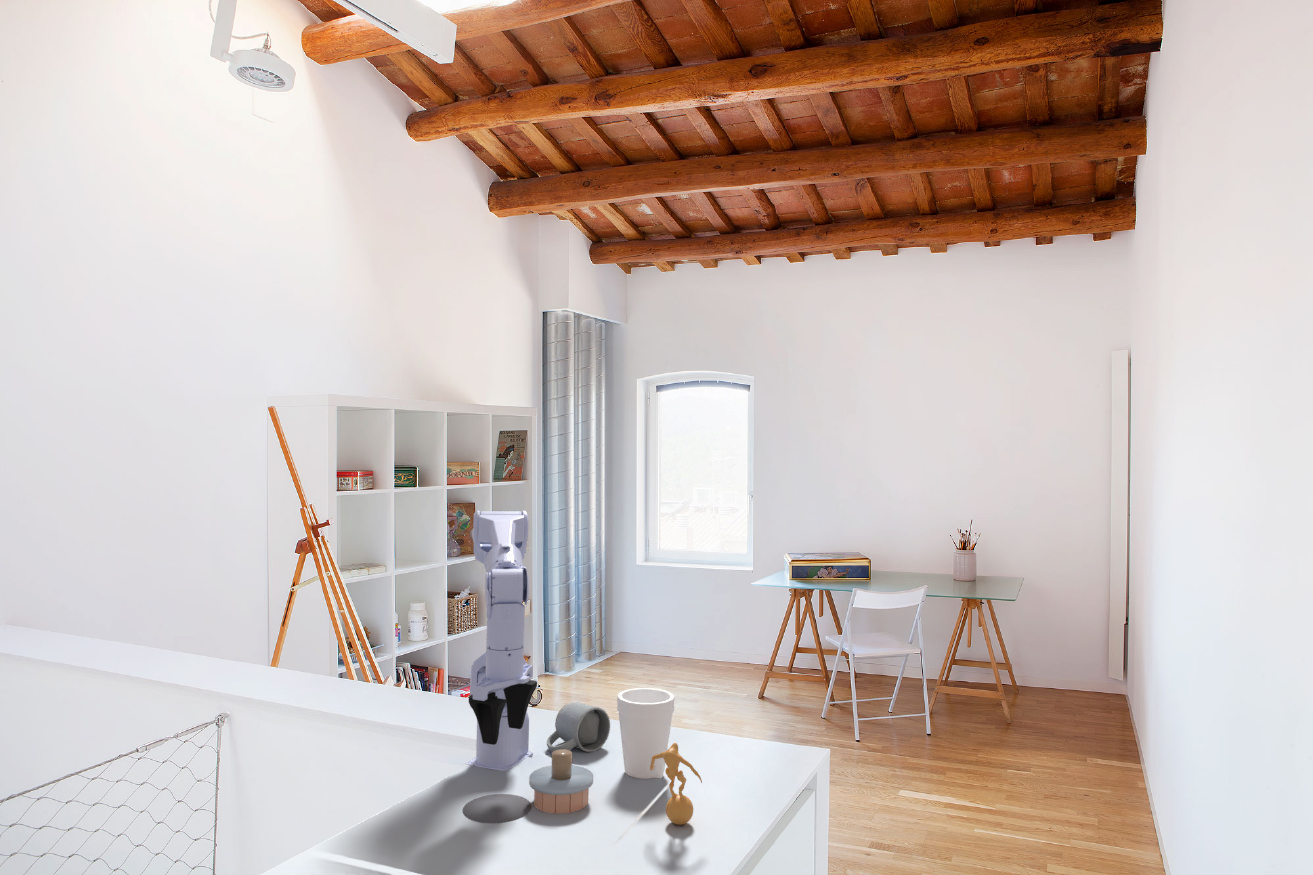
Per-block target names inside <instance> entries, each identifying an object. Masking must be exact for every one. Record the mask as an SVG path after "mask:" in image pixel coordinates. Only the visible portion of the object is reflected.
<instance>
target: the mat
mask: <svg viewBox="0 0 1313 875" xmlns="http://www.w3.org/2000/svg"><path fill="white" fill-rule="evenodd" d="M532 807H533V806H532V803H531V802H530V800H529V799H527V798H525V797H523V796H520V795H516V794H510V793H508V794H507V793H494V794H488V795H487V794H486V795H483V796H479V797H476V798H474V799H472V800H469V801H467V803H465V805H463V807H462V814H463V816H464V817H465V818H467V819H468V820H471V821H473V822H477V823H481V824H501V823H502V824H503V823H509V822H512V821H515V820H519V819H521V818H524V817H525V816H527V815H528V814H529V813H530V812H531V810H532Z"/></svg>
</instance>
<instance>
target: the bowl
mask: <svg viewBox="0 0 1313 875" xmlns="http://www.w3.org/2000/svg"><path fill="white" fill-rule="evenodd" d="M533 790H534V789H533ZM589 795H590V794H589V788H588V789H586V790H584V791H582V792H578V793H574V794H567V795H551V794H544V793H541V792H538V791H535V790H534V793H533V796H534V797H533V801H534V802H533V803H534V804H533V805H534V807H535V808H536V809H538V810H539V811H542V812H543V813H547V814H548V813H549V814H557V815H559V814H571V813H574V812H577V811H578V812H579V811H580V810H581V811H582V810H583V809H584V808H585V807H586V806H587V805H588V804H589Z"/></svg>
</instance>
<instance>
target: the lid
mask: <svg viewBox="0 0 1313 875" xmlns="http://www.w3.org/2000/svg"><path fill="white" fill-rule="evenodd" d="M572 763H573V752H572V751H571V750H556V751H553V752H552V753H551V765H546V766H543V767H539V768H537V769H536V770H534V771H532V772H531V773H530V775H529V777H528V780H529V781H528V784H529V787H530V788H531V789H532V790H535V791H538V792H541V793H544V794H551V795H567V794H574V793H578V792H582V791H584V790H586V789H588V788H591V787H592V785H593V784H594V774H593V772H592V771H591V770H589V769H588V768H585V767H583V766H579V765H574V764H572Z"/></svg>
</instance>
